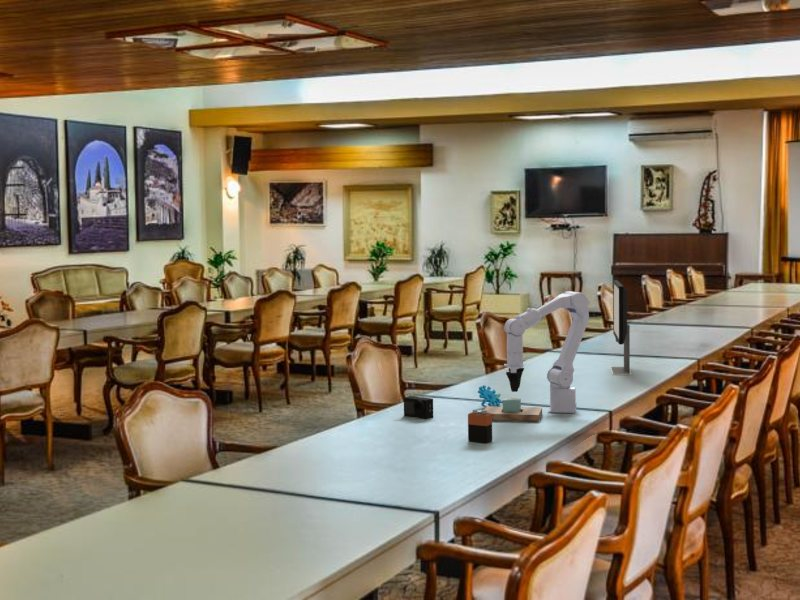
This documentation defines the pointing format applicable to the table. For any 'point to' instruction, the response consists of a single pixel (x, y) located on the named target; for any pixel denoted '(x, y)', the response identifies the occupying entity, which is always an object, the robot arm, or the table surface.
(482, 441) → the battery
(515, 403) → the teal striped block
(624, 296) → the computer monitor
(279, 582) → the table surface
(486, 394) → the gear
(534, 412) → the keyed socket
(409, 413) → the digital camera
